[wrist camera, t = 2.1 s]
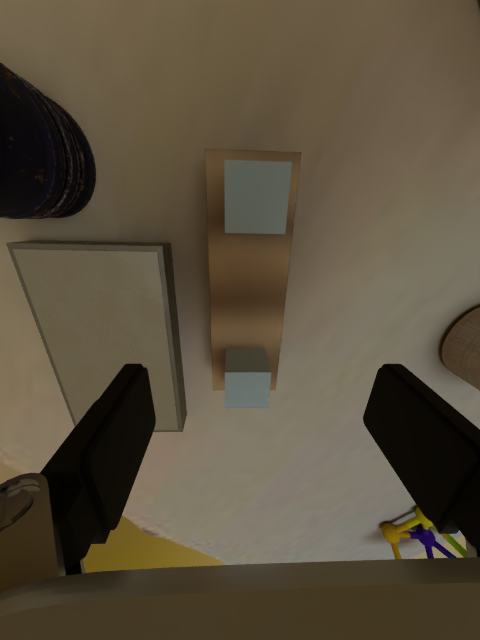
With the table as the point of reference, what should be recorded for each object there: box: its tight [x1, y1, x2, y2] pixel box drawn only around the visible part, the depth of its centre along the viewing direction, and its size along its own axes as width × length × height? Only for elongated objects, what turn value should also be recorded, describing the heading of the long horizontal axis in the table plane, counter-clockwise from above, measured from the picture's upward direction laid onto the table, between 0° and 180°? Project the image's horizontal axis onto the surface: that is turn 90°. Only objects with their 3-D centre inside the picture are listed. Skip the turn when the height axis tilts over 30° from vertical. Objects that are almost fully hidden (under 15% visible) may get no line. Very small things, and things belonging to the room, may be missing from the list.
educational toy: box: [382, 507, 467, 559], centre depth 40 cm, size 16×13×15 cm
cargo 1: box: [224, 160, 292, 234], centre depth 16 cm, size 4×4×4 cm
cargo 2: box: [225, 348, 271, 408], centre depth 22 cm, size 4×4×4 cm
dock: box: [6, 240, 187, 432], centre depth 27 cm, size 14×24×3 cm, turn 179°
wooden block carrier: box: [205, 149, 301, 390], centre depth 23 cm, size 22×7×6 cm, turn 179°
